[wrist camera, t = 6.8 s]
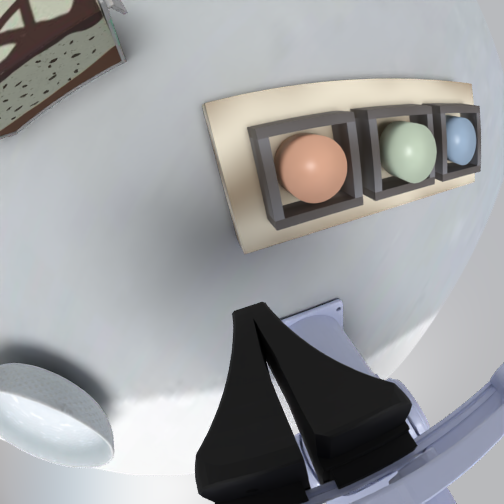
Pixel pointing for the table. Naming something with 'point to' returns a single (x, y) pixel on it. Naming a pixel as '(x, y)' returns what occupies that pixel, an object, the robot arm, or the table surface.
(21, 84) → the food container
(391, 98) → the button board
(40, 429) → the cereal bowl
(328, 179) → the button terracotta
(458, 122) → the button blue
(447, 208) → the table surface
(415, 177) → the button sage
